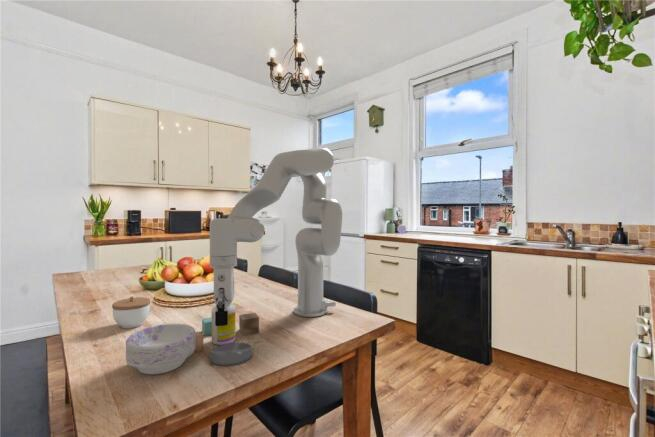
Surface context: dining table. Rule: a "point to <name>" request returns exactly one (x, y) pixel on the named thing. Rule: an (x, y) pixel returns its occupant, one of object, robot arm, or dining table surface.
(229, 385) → the dining table surface
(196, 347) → the glossy tan egg
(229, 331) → the supplement bottle
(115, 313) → the lidded jar
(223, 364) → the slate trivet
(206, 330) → the teal block
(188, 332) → the paper bowls
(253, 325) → the walnut cube
